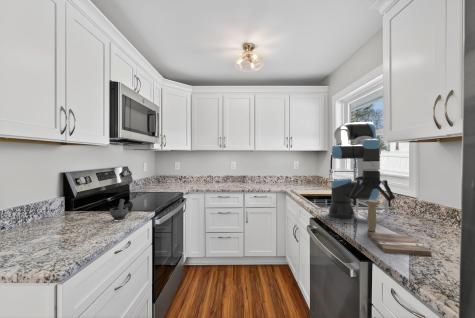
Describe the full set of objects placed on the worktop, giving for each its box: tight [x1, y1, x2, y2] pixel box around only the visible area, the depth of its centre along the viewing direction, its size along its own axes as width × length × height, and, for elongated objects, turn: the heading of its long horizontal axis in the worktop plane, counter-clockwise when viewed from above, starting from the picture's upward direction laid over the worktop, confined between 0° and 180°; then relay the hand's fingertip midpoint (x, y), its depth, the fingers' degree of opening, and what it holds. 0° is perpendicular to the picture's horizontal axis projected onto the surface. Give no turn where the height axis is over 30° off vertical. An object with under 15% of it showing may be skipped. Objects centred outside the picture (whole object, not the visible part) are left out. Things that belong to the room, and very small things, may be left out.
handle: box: [365, 200, 380, 233], centre depth 119 cm, size 5×6×15 cm
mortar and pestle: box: [109, 198, 129, 221], centre depth 144 cm, size 11×9×12 cm
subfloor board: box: [367, 231, 432, 256], centre depth 101 cm, size 20×16×2 cm
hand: (371, 212), depth 119 cm, fingers open, 13 cm apart
